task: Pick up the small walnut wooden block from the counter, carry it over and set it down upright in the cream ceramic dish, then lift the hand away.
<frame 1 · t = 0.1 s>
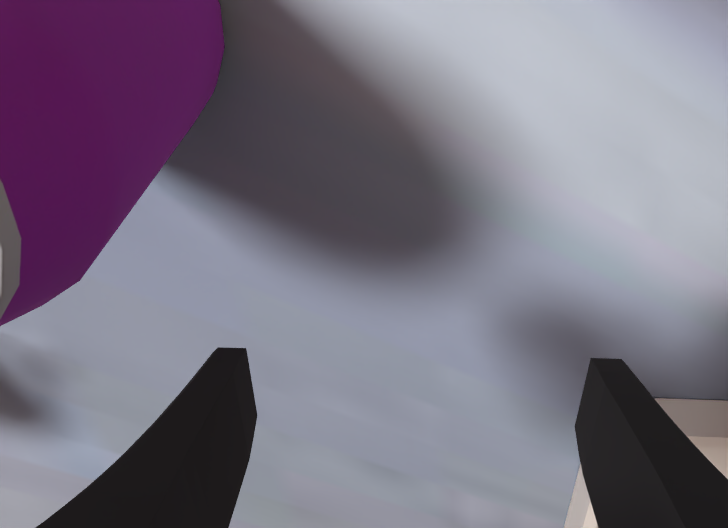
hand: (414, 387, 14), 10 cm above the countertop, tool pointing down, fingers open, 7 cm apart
serving dish: (715, 500, 31), on the countertop
beverage can: (110, 14, 20), on the countertop
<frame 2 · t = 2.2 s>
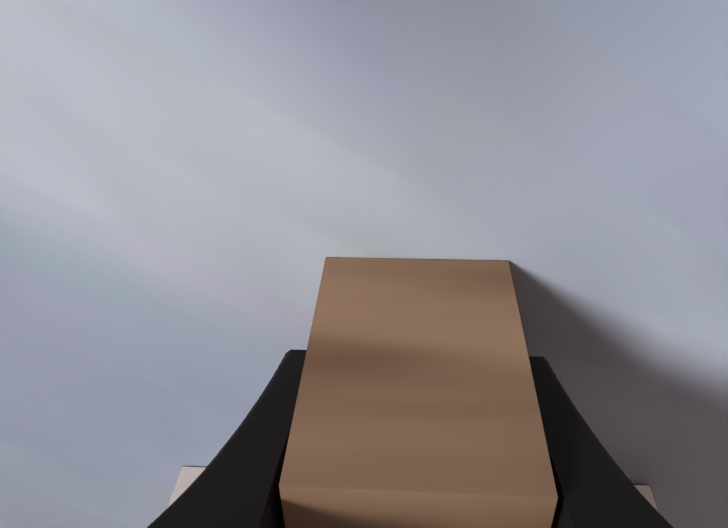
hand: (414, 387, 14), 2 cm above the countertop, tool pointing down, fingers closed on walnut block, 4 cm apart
walnut block: (414, 328, 15), on the countertop, touching gripper
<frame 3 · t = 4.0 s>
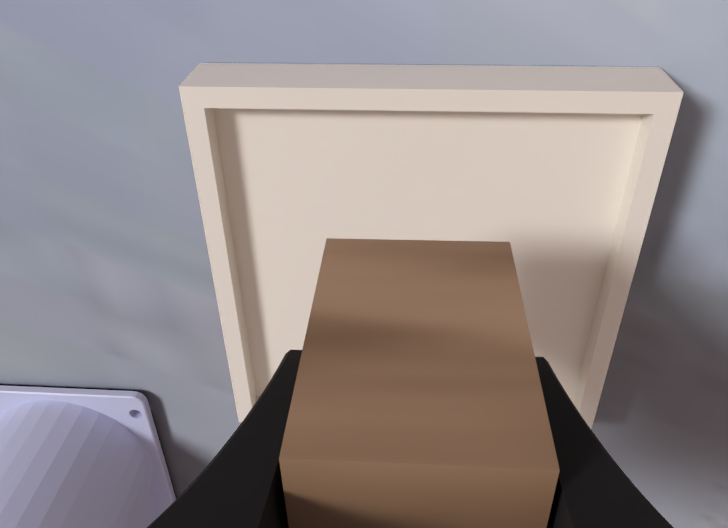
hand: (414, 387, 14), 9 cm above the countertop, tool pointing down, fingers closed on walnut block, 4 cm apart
walnut block: (415, 311, 15), point 7 cm above the countertop, touching gripper
serving dish: (416, 255, 22), on the countertop
when the fingers open (5 cm above the countertop, at t = 5.8 s): walnut block drops 1 cm, resting on serving dish.
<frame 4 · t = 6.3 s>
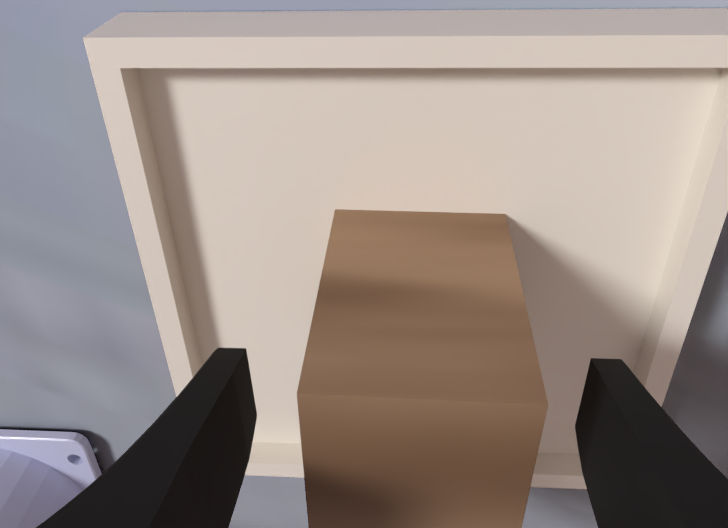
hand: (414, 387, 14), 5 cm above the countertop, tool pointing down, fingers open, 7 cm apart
walnut block: (416, 280, 16), point 1 cm above the countertop, touching serving dish
serving dish: (414, 265, 18), on the countertop
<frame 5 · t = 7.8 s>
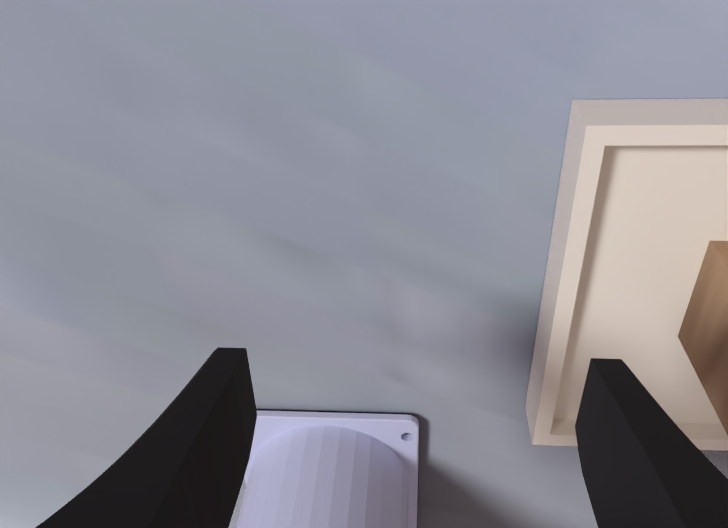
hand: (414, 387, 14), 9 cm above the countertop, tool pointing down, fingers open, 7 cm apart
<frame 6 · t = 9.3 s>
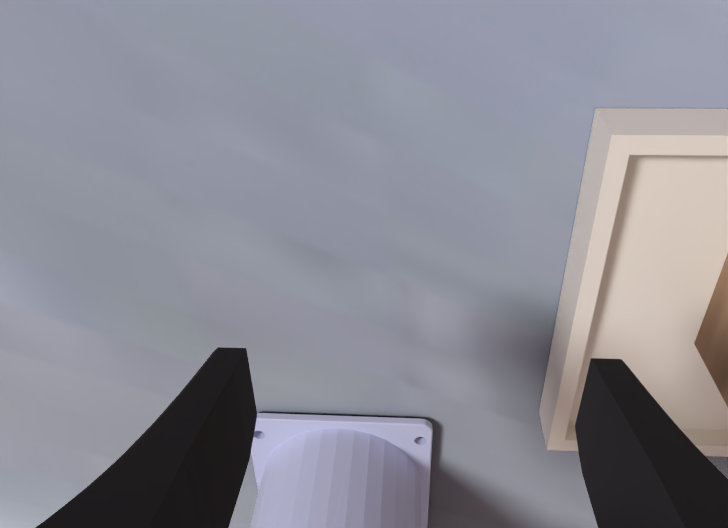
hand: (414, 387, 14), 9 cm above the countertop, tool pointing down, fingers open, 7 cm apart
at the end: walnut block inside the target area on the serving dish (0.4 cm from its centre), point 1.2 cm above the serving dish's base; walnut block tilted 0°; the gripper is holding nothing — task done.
